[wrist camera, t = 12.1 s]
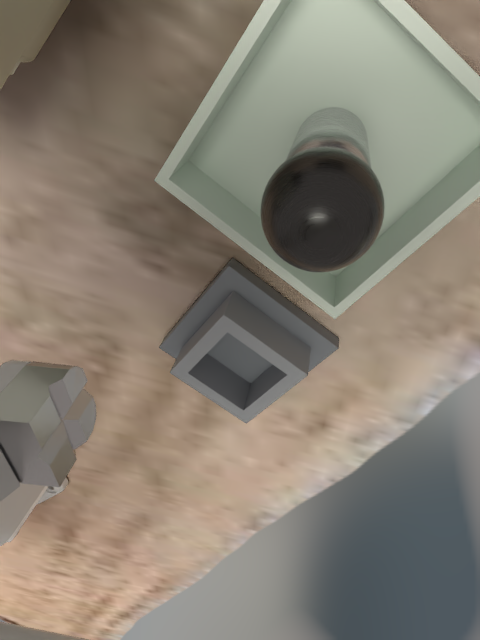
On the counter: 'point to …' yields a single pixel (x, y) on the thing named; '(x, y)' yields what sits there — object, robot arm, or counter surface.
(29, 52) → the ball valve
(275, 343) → the socket block
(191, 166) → the bin
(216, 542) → the counter surface
